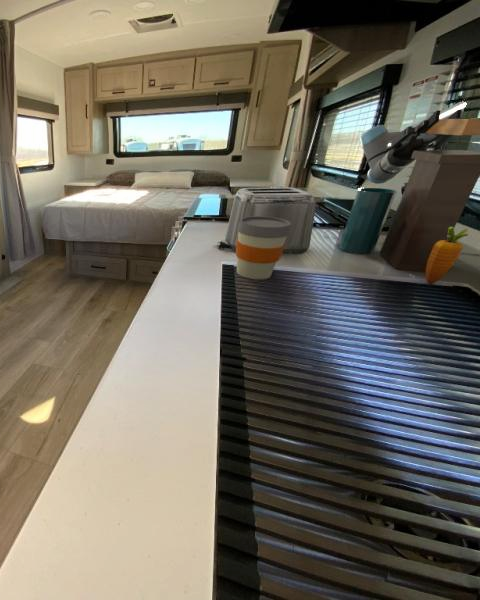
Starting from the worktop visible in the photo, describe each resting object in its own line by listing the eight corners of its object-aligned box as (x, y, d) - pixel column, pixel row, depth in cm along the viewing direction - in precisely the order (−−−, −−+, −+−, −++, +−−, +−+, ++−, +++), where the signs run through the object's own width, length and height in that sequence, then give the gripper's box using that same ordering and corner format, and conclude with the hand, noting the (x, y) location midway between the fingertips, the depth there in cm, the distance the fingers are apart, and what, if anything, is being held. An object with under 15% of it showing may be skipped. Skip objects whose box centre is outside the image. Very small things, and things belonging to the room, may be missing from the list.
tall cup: (373, 248, 109) (395, 189, 101) (372, 256, 103) (397, 193, 94) (339, 244, 114) (358, 187, 106) (337, 251, 108) (357, 191, 100)
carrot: (440, 282, 85) (469, 225, 78) (445, 290, 82) (476, 230, 75) (414, 279, 88) (440, 223, 81) (418, 286, 84) (446, 228, 77)
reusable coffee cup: (272, 266, 99) (284, 216, 92) (283, 283, 88) (298, 228, 81) (227, 264, 102) (236, 215, 95) (232, 280, 91) (242, 226, 85)
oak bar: (417, 133, 99) (422, 119, 97) (433, 132, 97) (438, 119, 96) (461, 135, 79) (468, 118, 78) (481, 135, 78) (489, 118, 76)
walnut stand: (374, 252, 106) (413, 150, 93) (414, 255, 103) (461, 149, 89) (392, 270, 93) (441, 154, 80) (439, 274, 90) (499, 154, 76)
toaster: (317, 256, 105) (336, 194, 96) (220, 254, 110) (229, 195, 101) (295, 240, 120) (310, 185, 111) (210, 239, 124) (218, 187, 116)
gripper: (431, 167, 107) (488, 127, 85) (368, 167, 113) (406, 129, 91) (435, 144, 107) (493, 98, 85) (371, 145, 113) (410, 103, 92)
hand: (448, 115), depth 88 cm, fingers closed on oak bar, 3 cm apart
